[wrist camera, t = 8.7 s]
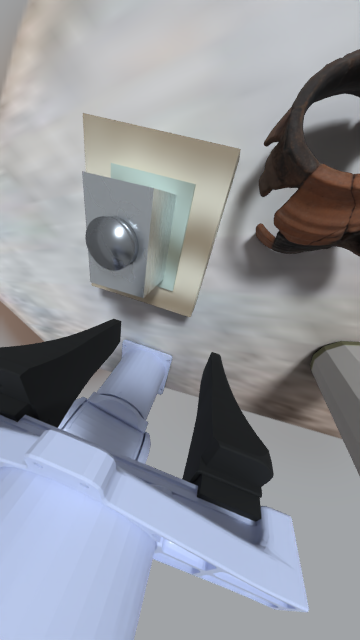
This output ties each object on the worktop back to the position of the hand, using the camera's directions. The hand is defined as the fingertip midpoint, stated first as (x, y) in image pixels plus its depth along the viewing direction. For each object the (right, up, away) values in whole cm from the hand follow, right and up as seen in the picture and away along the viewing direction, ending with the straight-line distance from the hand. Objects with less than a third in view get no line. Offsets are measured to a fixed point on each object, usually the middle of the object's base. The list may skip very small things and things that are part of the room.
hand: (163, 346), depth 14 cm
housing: (-2, +10, +3) cm, 10 cm away
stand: (-1, +11, +5) cm, 13 cm away
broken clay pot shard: (+13, +12, +1) cm, 18 cm away
